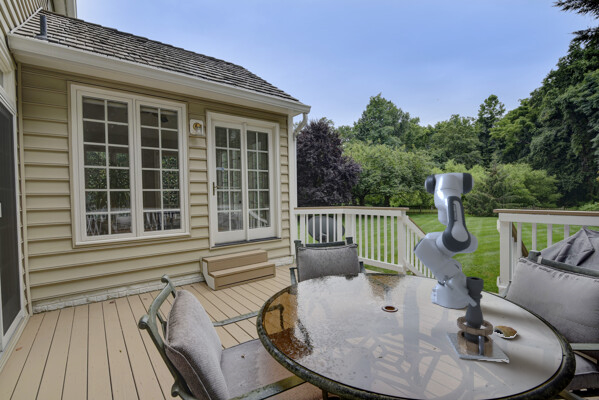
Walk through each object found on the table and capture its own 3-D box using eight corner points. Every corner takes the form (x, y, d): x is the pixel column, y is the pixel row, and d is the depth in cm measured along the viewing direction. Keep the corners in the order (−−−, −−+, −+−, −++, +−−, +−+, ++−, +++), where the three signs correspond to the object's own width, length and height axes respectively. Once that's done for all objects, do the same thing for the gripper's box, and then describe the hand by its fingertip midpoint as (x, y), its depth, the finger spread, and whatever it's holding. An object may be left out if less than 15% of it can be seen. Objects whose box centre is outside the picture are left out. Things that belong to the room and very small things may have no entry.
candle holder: (475, 338, 108) (476, 276, 108) (487, 347, 102) (488, 281, 101) (460, 338, 108) (461, 276, 107) (471, 347, 102) (472, 281, 101)
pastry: (505, 329, 119) (505, 321, 119) (522, 337, 113) (522, 328, 113) (490, 333, 116) (490, 324, 116) (506, 341, 110) (506, 332, 110)
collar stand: (446, 335, 114) (445, 312, 114) (489, 339, 111) (488, 315, 111) (458, 358, 99) (458, 330, 99) (509, 363, 95) (509, 335, 95)
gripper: (449, 275, 100) (481, 307, 95) (457, 263, 117) (484, 290, 111) (436, 284, 103) (466, 316, 97) (445, 272, 119) (472, 299, 114)
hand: (476, 302), depth 104 cm, fingers closed on candle holder, 4 cm apart
